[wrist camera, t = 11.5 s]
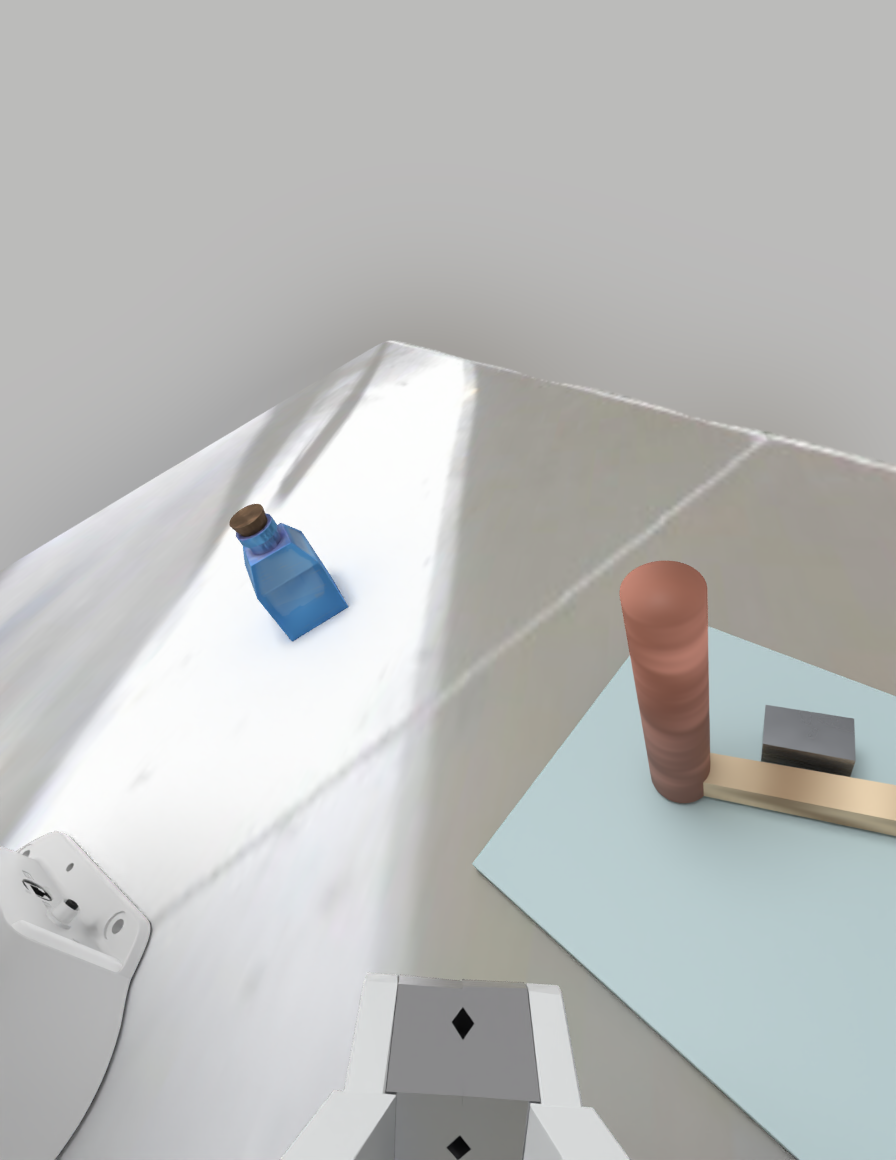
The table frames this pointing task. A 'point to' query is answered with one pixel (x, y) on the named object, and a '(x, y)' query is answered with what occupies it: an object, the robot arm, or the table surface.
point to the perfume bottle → (286, 572)
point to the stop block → (808, 740)
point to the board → (728, 904)
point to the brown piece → (682, 722)
